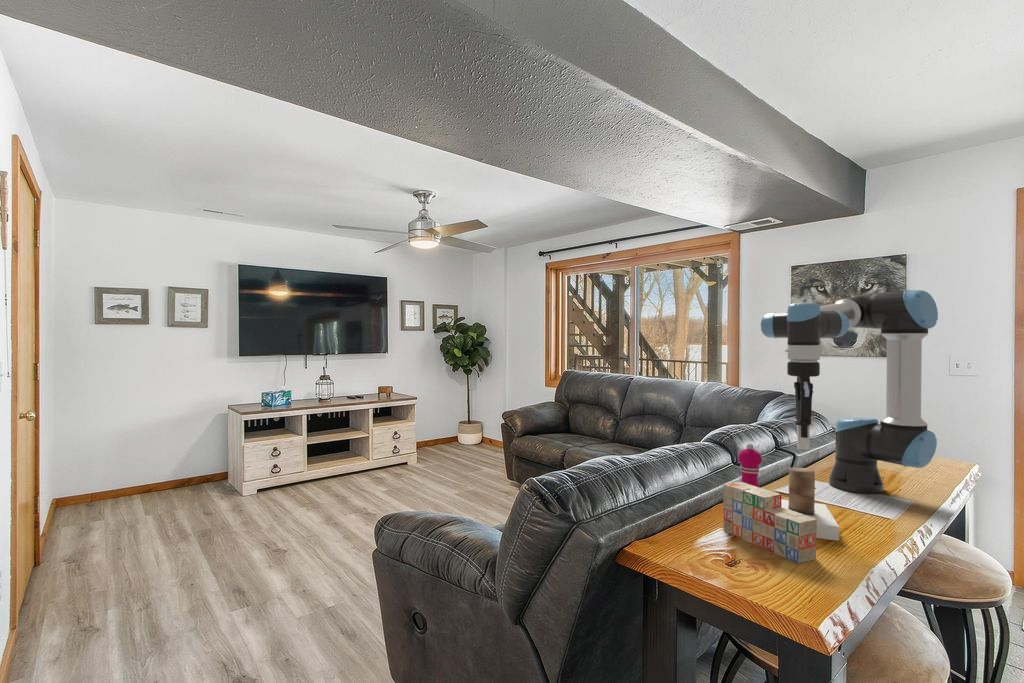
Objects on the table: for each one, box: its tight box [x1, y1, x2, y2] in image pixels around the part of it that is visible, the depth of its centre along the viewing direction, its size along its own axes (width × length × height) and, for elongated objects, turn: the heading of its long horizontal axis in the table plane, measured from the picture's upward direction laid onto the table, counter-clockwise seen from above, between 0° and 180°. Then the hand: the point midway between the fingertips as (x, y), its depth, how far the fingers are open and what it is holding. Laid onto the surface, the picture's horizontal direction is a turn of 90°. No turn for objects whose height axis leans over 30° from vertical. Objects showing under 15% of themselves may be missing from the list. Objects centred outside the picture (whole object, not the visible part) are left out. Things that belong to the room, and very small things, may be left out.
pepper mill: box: [737, 443, 762, 488], centre depth 143 cm, size 7×7×20 cm
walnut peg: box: [788, 466, 816, 515], centre depth 136 cm, size 6×6×14 cm
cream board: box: [781, 498, 840, 542], centre depth 136 cm, size 14×18×4 cm
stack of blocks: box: [723, 481, 817, 564], centre depth 123 cm, size 21×6×12 cm, turn 24°
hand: (803, 448), depth 136 cm, fingers closed
